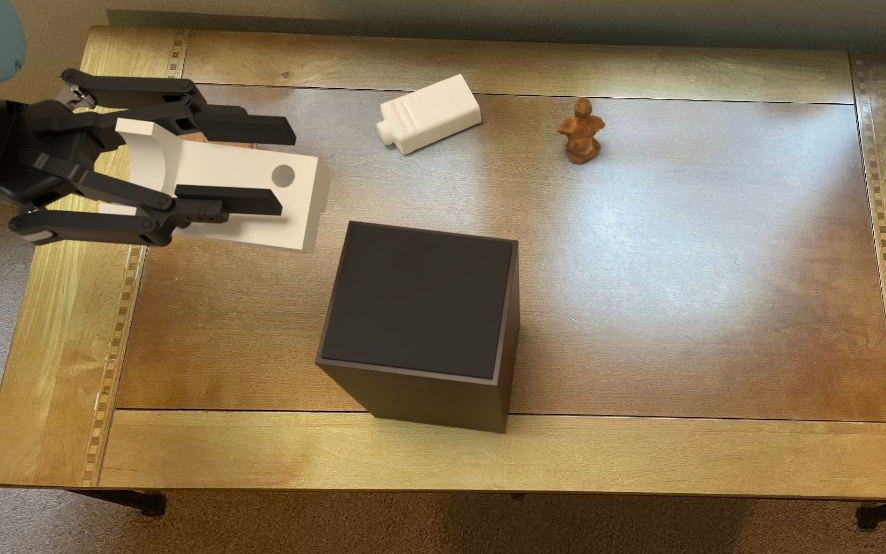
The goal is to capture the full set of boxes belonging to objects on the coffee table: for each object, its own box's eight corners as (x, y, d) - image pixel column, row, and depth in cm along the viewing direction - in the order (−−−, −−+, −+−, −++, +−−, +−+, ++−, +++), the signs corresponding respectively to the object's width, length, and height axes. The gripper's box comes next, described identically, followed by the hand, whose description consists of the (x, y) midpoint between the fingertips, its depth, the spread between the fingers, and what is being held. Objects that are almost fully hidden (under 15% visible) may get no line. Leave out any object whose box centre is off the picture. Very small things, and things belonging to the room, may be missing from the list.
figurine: (559, 135, 95) (563, 79, 84) (601, 141, 95) (612, 86, 84) (554, 164, 94) (558, 112, 82) (597, 171, 93) (607, 119, 82)
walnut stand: (505, 434, 81) (497, 386, 58) (374, 417, 81) (314, 363, 58) (520, 325, 86) (518, 240, 62) (396, 309, 86) (348, 219, 63)
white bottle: (373, 124, 95) (367, 106, 91) (461, 88, 97) (459, 69, 93) (392, 163, 93) (386, 146, 89) (482, 125, 95) (480, 107, 91)
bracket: (157, 235, 57) (97, 216, 49) (174, 149, 58) (117, 117, 50) (317, 256, 56) (281, 240, 49) (332, 169, 57) (299, 140, 50)
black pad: (492, 379, 58) (492, 378, 57) (321, 358, 58) (320, 356, 58) (512, 244, 62) (512, 242, 62) (353, 225, 62) (352, 223, 62)
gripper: (32, 77, 58) (317, 92, 58) (-45, 286, 52) (277, 302, 52) (-35, 12, 51) (289, 29, 51) (-134, 244, 45) (238, 263, 45)
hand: (282, 166), depth 51 cm, fingers open, 5 cm apart
